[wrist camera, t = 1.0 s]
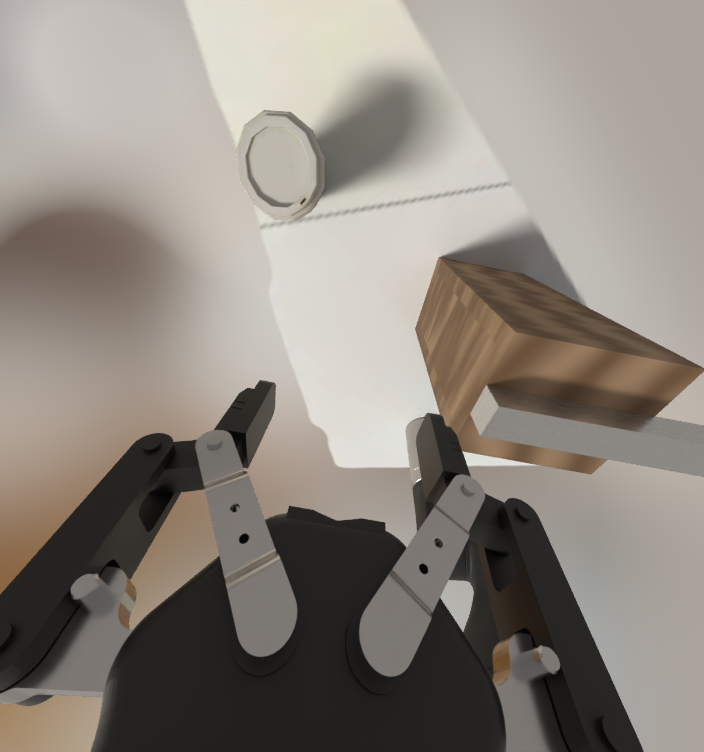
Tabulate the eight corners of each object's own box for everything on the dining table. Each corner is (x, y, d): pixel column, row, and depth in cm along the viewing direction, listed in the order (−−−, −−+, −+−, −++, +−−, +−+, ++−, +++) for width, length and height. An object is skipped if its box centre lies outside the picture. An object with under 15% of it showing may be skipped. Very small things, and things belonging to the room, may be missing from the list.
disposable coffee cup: (258, 173, 43) (210, 164, 31) (303, 111, 39) (268, 71, 26) (306, 230, 47) (280, 242, 35) (352, 179, 43) (342, 172, 30)
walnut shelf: (525, 274, 48) (705, 369, 22) (489, 343, 56) (591, 474, 30) (438, 257, 48) (515, 332, 21) (415, 329, 56) (450, 449, 29)
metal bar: (756, 435, 25) (798, 461, 23) (721, 459, 27) (756, 486, 24) (486, 384, 24) (498, 406, 22) (470, 413, 26) (480, 436, 24)
